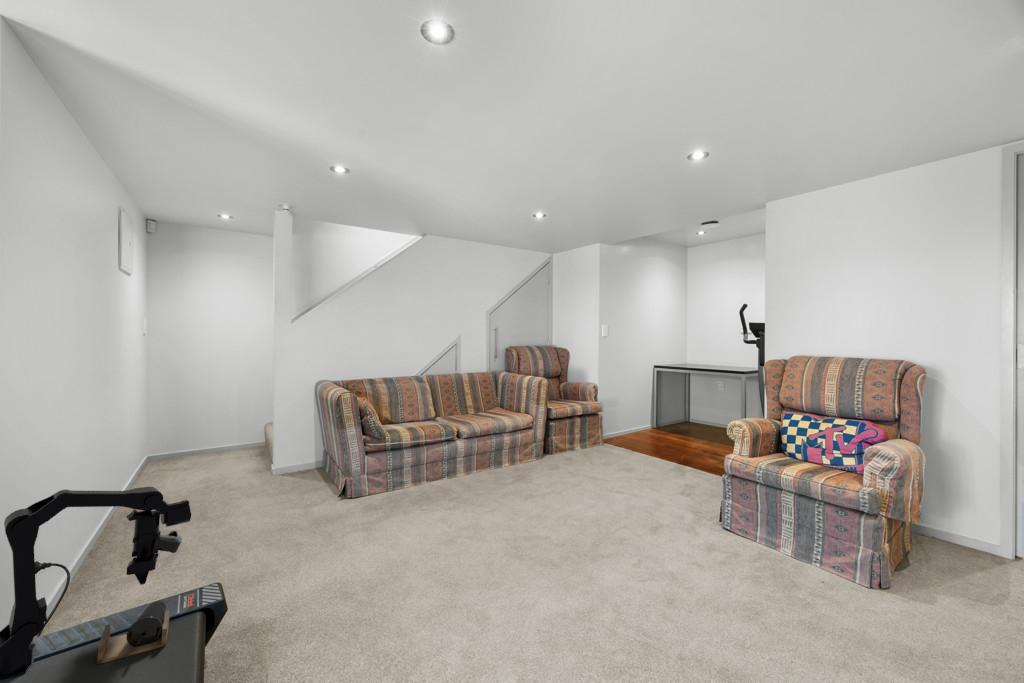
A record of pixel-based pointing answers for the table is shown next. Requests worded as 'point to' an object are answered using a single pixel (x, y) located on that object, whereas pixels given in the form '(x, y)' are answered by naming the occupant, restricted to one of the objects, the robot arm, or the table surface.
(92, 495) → the robot arm
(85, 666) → the table surface
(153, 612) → the drinking cup
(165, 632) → the cup rest
